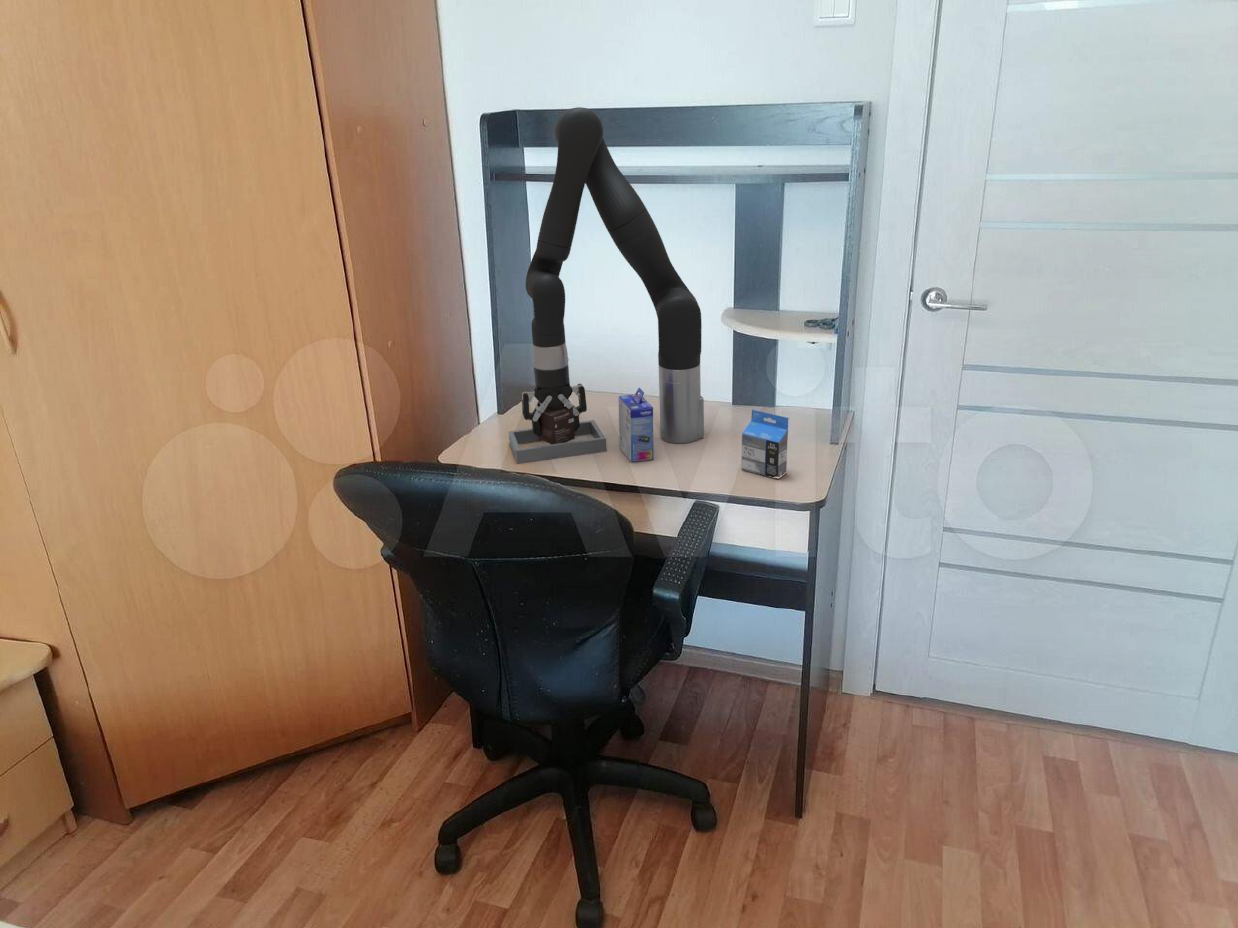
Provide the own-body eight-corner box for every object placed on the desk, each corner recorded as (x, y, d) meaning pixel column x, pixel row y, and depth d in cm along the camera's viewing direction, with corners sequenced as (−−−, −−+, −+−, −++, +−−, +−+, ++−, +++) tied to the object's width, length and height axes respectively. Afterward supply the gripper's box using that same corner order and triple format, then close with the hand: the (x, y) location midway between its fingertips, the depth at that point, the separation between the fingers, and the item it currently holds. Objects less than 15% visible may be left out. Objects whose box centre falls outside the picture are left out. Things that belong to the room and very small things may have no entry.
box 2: (594, 431, 211) (593, 419, 210) (606, 451, 201) (606, 438, 200) (509, 443, 207) (508, 431, 206) (517, 463, 197) (516, 451, 195)
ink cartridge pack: (740, 470, 188) (740, 414, 183) (750, 463, 191) (751, 409, 186) (777, 480, 183) (779, 423, 178) (787, 473, 186) (789, 417, 181)
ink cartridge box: (655, 460, 195) (653, 396, 189) (631, 463, 194) (628, 400, 188) (642, 443, 204) (640, 382, 198) (618, 447, 203) (615, 385, 197)
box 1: (554, 447, 199) (551, 415, 196) (538, 439, 204) (535, 409, 201) (576, 439, 203) (573, 408, 200) (559, 432, 207) (557, 402, 204)
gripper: (579, 354, 201) (584, 422, 207) (515, 362, 198) (522, 431, 204) (586, 364, 194) (591, 434, 201) (520, 372, 191) (527, 443, 198)
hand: (556, 432), depth 203 cm, fingers closed on box 1, 8 cm apart
